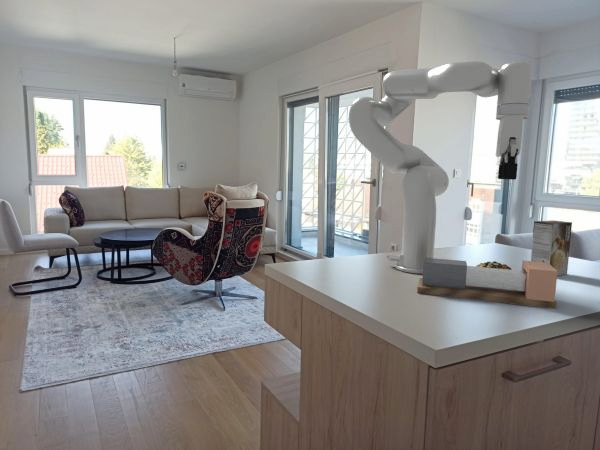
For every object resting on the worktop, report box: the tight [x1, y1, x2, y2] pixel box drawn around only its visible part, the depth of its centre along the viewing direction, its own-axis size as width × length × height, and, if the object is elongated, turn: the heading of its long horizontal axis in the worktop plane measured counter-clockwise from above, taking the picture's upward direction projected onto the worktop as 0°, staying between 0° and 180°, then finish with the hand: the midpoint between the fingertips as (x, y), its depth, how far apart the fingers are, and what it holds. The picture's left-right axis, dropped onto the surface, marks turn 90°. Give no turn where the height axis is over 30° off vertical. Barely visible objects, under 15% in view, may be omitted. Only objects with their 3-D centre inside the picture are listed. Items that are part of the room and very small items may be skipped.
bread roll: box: [475, 260, 513, 270], centre depth 126 cm, size 11×11×5 cm
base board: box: [416, 277, 558, 310], centre depth 104 cm, size 30×10×2 cm, turn 71°
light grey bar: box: [466, 265, 527, 291], centre depth 102 cm, size 18×4×4 cm, turn 71°
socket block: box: [520, 259, 558, 302], centre depth 99 cm, size 6×10×7 cm, turn 161°
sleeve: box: [422, 257, 468, 290], centre depth 106 cm, size 10×6×6 cm, turn 71°
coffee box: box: [530, 220, 573, 277], centre depth 128 cm, size 9×6×16 cm
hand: (506, 179), depth 112 cm, fingers open, 9 cm apart
